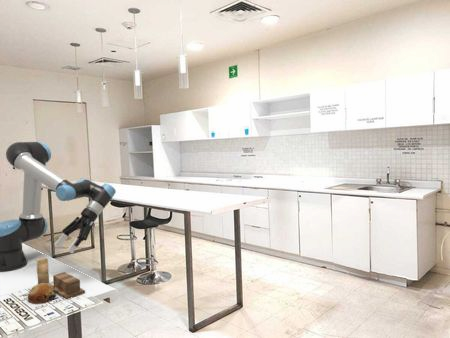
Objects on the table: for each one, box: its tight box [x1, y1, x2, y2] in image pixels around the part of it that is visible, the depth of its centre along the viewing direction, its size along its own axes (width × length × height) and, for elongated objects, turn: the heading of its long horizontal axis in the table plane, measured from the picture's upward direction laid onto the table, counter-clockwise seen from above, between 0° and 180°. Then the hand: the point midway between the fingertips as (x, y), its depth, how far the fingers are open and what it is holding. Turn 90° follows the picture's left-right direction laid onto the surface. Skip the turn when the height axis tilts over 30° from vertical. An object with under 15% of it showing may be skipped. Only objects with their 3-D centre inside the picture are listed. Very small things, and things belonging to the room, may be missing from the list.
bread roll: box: [27, 282, 57, 305], centre depth 142 cm, size 10×10×8 cm
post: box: [36, 257, 50, 285], centre depth 154 cm, size 4×4×12 cm
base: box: [52, 271, 86, 300], centre depth 148 cm, size 16×8×6 cm, turn 49°
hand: (62, 249), depth 160 cm, fingers open, 13 cm apart
